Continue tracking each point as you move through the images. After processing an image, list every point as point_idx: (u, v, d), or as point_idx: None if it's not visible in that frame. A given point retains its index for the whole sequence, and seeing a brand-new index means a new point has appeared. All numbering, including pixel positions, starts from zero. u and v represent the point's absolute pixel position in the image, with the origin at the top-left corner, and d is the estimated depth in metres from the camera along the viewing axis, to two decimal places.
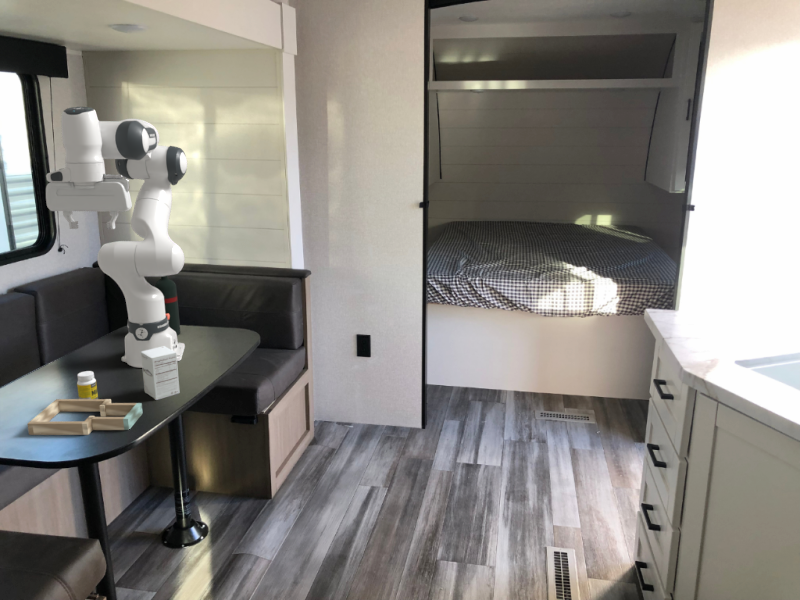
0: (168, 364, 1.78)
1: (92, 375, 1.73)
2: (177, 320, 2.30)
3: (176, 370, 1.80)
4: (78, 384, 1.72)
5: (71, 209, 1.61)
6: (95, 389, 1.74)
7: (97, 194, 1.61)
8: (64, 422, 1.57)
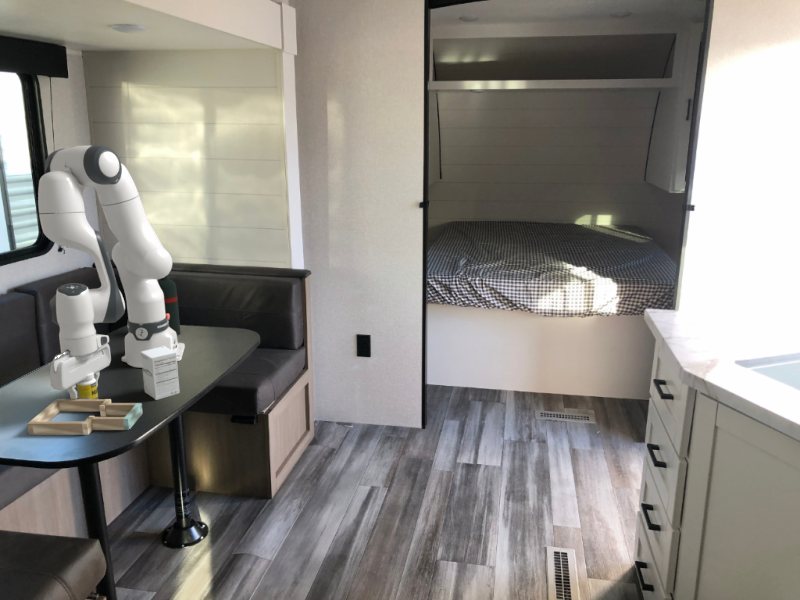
0: (168, 364, 1.78)
1: (92, 375, 1.73)
2: (177, 320, 2.30)
3: (176, 370, 1.80)
4: (78, 384, 1.72)
5: None
6: (95, 389, 1.74)
7: None
8: (64, 422, 1.57)
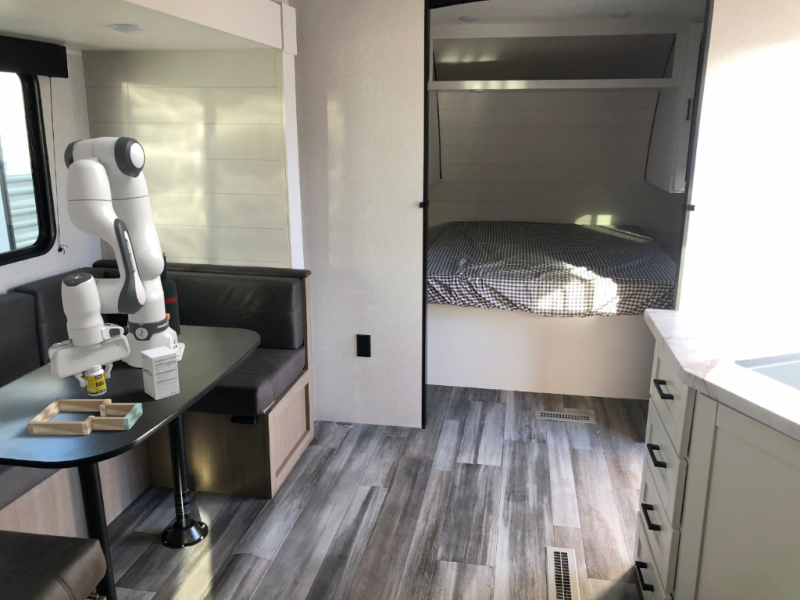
0: (168, 364, 1.78)
1: (97, 367, 1.72)
2: (177, 320, 2.30)
3: (176, 370, 1.80)
4: (85, 374, 1.72)
5: None
6: (100, 381, 1.73)
7: None
8: (64, 422, 1.57)
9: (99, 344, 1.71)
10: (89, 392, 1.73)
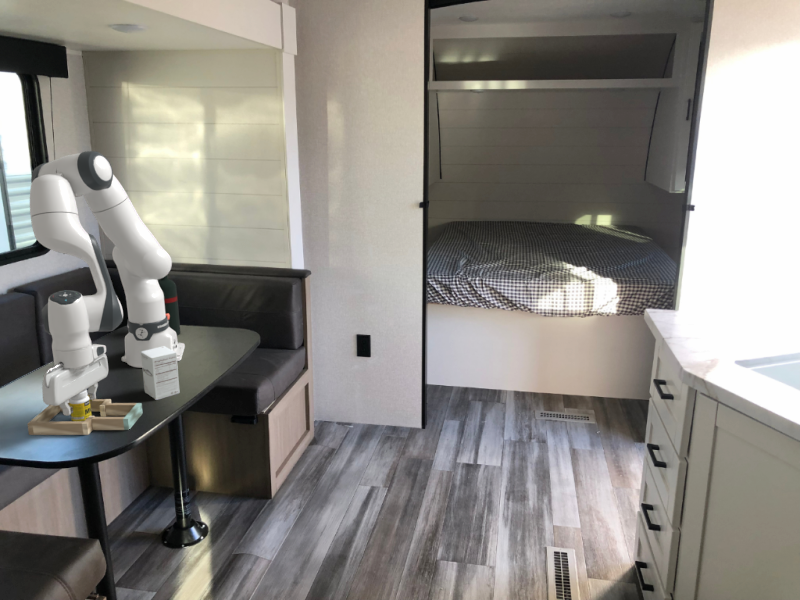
0: (168, 364, 1.78)
1: (85, 393, 1.62)
2: (177, 320, 2.30)
3: (176, 370, 1.80)
4: (70, 403, 1.61)
5: None
6: (89, 407, 1.63)
7: None
8: (64, 422, 1.57)
9: (88, 365, 1.61)
10: None
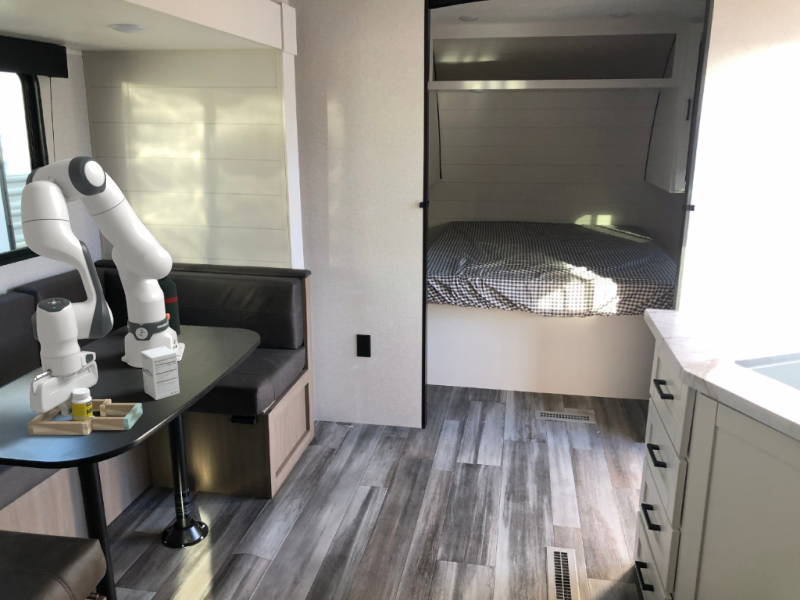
0: (168, 364, 1.78)
1: (88, 393, 1.62)
2: (177, 320, 2.30)
3: (176, 370, 1.80)
4: (72, 402, 1.61)
5: None
6: (90, 408, 1.63)
7: None
8: (64, 422, 1.57)
9: (77, 372, 1.61)
10: None
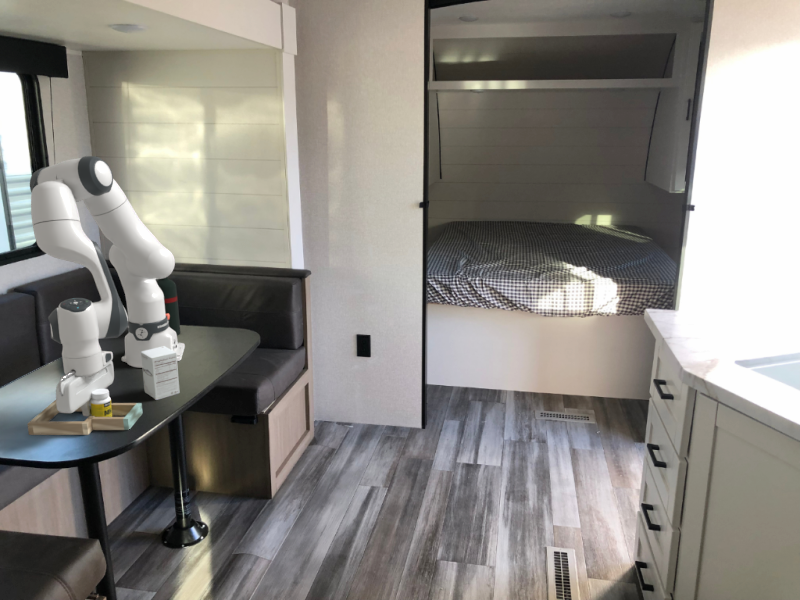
0: (168, 364, 1.78)
1: (106, 394, 1.62)
2: (177, 320, 2.30)
3: (176, 370, 1.80)
4: (91, 402, 1.61)
5: None
6: (109, 409, 1.63)
7: None
8: (64, 422, 1.57)
9: (98, 371, 1.62)
10: None
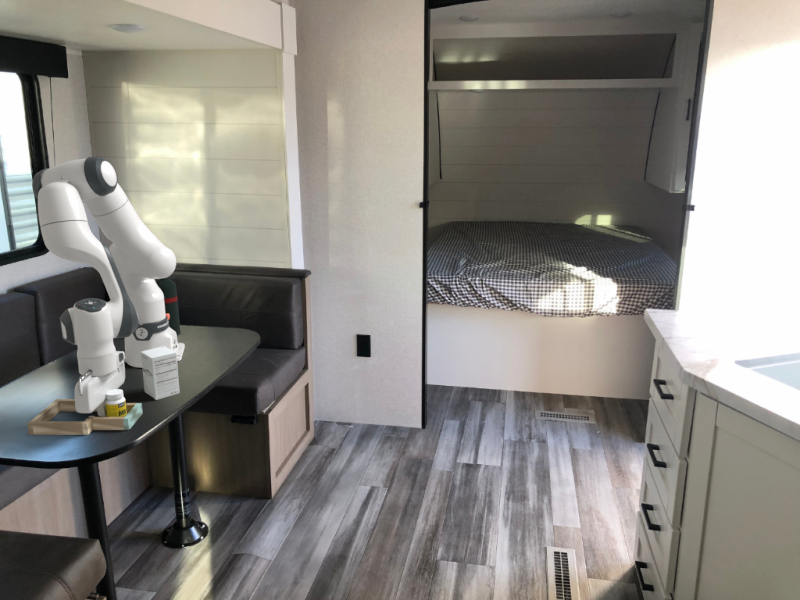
0: (168, 364, 1.78)
1: (120, 394, 1.62)
2: (177, 320, 2.30)
3: (176, 370, 1.80)
4: (106, 403, 1.61)
5: None
6: (123, 409, 1.62)
7: None
8: (64, 422, 1.57)
9: (112, 371, 1.62)
10: None
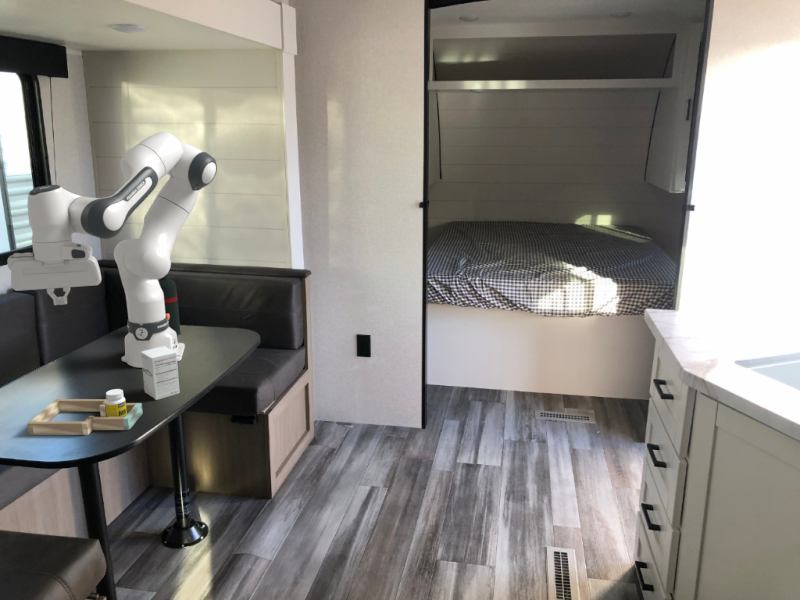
0: (168, 364, 1.78)
1: (120, 394, 1.62)
2: (177, 320, 2.30)
3: (176, 370, 1.80)
4: (106, 403, 1.61)
5: None
6: (123, 409, 1.62)
7: None
8: (64, 422, 1.57)
9: (60, 263, 1.59)
10: None
